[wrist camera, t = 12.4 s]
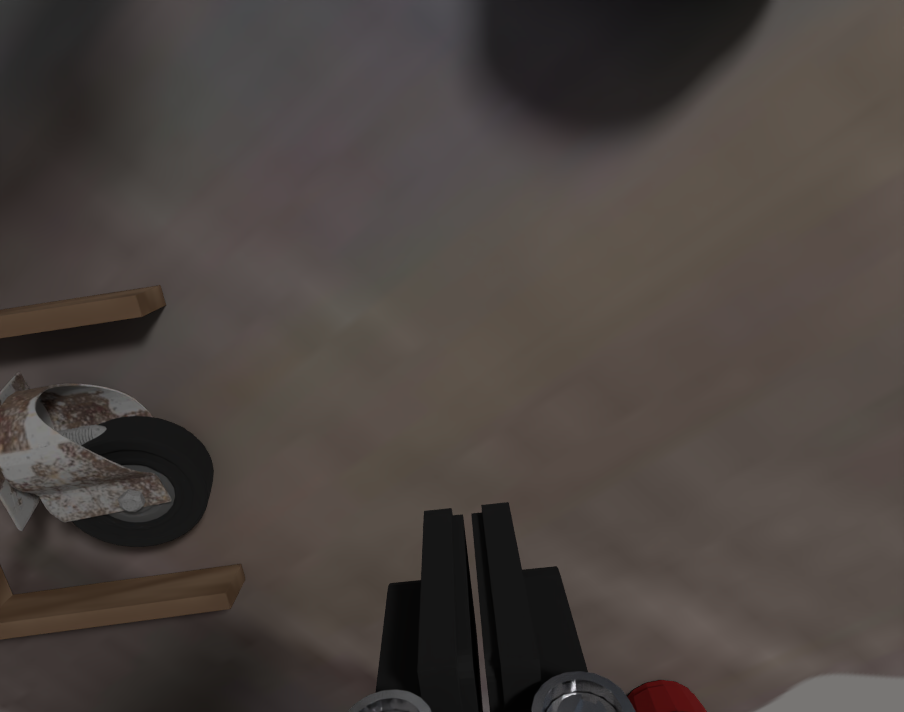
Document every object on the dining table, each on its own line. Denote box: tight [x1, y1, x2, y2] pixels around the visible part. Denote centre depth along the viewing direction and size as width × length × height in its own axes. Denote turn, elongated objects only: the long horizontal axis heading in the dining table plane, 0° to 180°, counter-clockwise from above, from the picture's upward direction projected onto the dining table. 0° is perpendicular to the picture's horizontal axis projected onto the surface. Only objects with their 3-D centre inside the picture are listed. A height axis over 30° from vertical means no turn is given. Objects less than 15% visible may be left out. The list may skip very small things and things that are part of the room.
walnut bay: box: [0, 285, 245, 639], centre depth 38 cm, size 20×17×3 cm
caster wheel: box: [0, 372, 214, 547], centre depth 37 cm, size 7×11×10 cm
